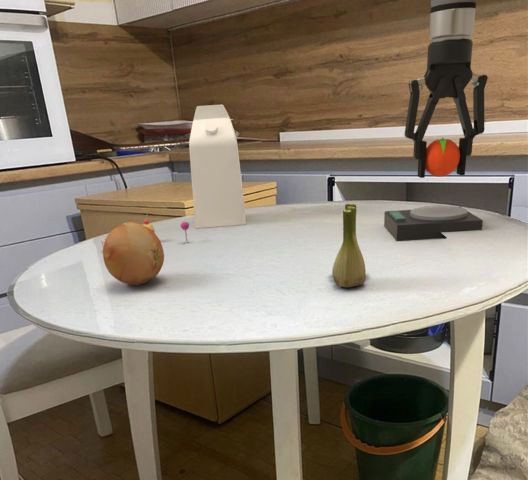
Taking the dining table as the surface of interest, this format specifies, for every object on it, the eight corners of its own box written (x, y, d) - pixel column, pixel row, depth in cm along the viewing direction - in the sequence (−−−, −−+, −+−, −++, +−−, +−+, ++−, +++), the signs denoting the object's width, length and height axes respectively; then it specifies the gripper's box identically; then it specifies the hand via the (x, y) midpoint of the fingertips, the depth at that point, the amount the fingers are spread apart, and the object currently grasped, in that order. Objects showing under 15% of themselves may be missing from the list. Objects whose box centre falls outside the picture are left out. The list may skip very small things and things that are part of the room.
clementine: (461, 179, 100) (464, 138, 97) (422, 180, 101) (424, 140, 98) (456, 173, 107) (459, 135, 104) (420, 174, 108) (422, 137, 105)
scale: (459, 220, 114) (460, 202, 113) (481, 235, 102) (483, 215, 100) (384, 225, 115) (384, 207, 114) (396, 240, 103) (397, 221, 101)
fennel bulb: (351, 293, 77) (351, 209, 72) (323, 287, 80) (322, 206, 75) (373, 282, 81) (374, 202, 76) (346, 277, 84) (346, 199, 79)
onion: (152, 293, 83) (142, 229, 79) (97, 292, 86) (84, 230, 82) (178, 274, 92) (169, 216, 87) (126, 273, 94) (116, 216, 90)
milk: (245, 215, 136) (236, 103, 125) (245, 224, 126) (236, 103, 115) (199, 218, 136) (186, 107, 125) (195, 228, 126) (180, 107, 115)
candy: (104, 255, 108) (98, 225, 105) (102, 247, 114) (96, 218, 112) (191, 242, 112) (188, 213, 110) (184, 235, 119) (180, 207, 117)
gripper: (499, 37, 97) (485, 169, 107) (389, 46, 98) (386, 176, 108) (516, 33, 90) (499, 174, 100) (397, 42, 91) (393, 181, 101)
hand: (440, 175), depth 104 cm, fingers closed on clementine, 7 cm apart
